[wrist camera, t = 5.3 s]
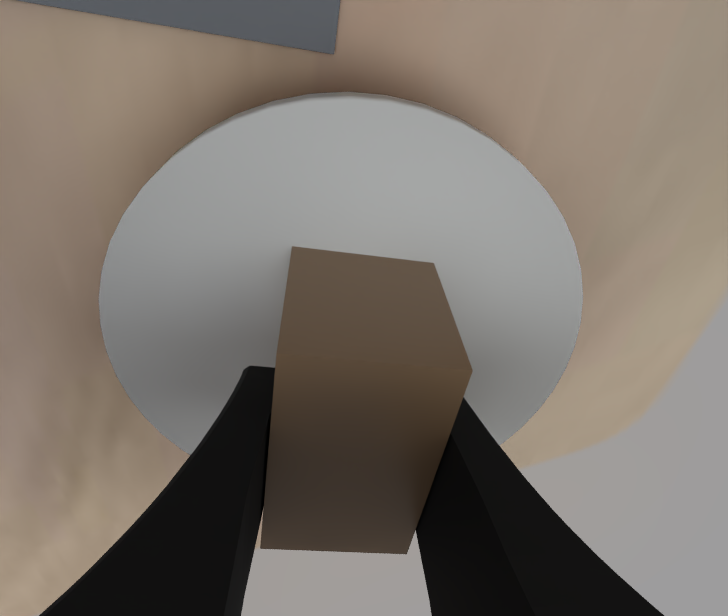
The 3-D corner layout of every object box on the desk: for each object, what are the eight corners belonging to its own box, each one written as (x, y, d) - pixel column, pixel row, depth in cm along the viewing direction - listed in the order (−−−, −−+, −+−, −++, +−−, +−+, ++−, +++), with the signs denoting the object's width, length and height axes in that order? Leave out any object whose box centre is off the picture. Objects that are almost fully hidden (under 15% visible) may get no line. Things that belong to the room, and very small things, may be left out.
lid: (134, 461, 15) (70, 619, 11) (78, 45, 9) (-95, 91, 5) (491, 483, 16) (538, 627, 13) (650, 138, 10) (824, 224, 7)
